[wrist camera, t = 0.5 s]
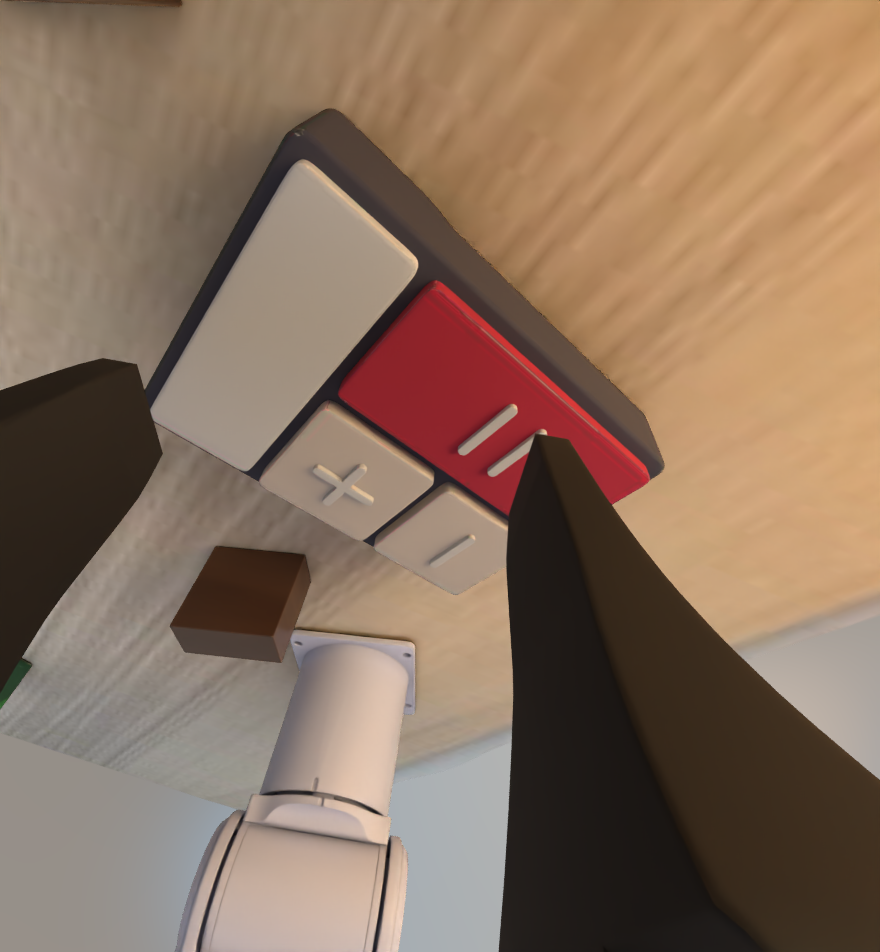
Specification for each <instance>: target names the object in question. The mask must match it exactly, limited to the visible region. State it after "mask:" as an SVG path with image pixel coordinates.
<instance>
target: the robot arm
mask: <svg viewBox="0 0 880 952" xmlns="http://www.w3.org/2000/svg"><path fill="white" fill-rule="evenodd" d="M162 454H163V453H162V449H161V446H160V442H159V439H158V435H157V432H156V428H155V425H154V422H153V418H152V415H151V411H150V408H149V404H148V401H147V397H146V394H145V390H144V387H143V384H142V380H141V377H140V373H139V370H138V366H137V364H133V363H127V362H121V361H115V360H110V359H104V358H102V359H98V360H94V361H89V362H86V363H82V364H78V365H75V366H72V367H68V368H65V369H62V370H59V371H56V372H53V373H50V374H47V375H44V376H41V377H38V378H35V379H32V380H29V381H26V382H23V383H20V384H18V385H15V386H12V387H9V388H6V389H3V390H0V693H1V691H2V690H3V688H4V686H5V684H6V683H7V681H8V679H9V677H10V676H11V674H12V672H13V671H14V669H15V667H16V666H17V664H18V663H19V661H20V659H21V658H22V656H23V655H24V653H25V651H26V650H27V648H28V646H29V645H30V643H31V642H32V640H33V638H34V637H35V635H36V634H37V632H38V630H39V629H40V627H41V626H42V624H43V622H44V621H45V619H46V618H47V617H48V615H49V614H50V612H51V611H52V610H53V608H54V607H55V605H56V604H57V603H58V601H59V600H60V598H61V597H62V596H63V594H64V593H65V592H66V591H67V589H68V588H69V587H70V585H71V584H72V583H73V582H74V580H75V579H76V578H77V577H78V575H79V574H80V573H81V571H82V570H83V569H84V568H85V566H86V565H87V564H88V562H89V561H90V560H91V559H92V557H93V556H94V555H95V554H96V552H97V551H98V550H99V548H100V547H101V546H102V545H103V543H104V542H105V541H106V540H107V538H108V537H109V536H110V535H111V533H112V532H113V531H114V529H115V528H116V527H117V525H118V524H119V523H120V522H121V520H122V519H123V518H124V516H125V515H126V514H127V512H128V511H129V510H130V508H131V507H132V506H133V504H134V503H135V502H136V500H137V499H138V498H139V496H140V494H141V493H142V491H143V489H144V487H145V486H146V484H147V482H148V481H149V479H150V477H151V475H152V473H153V471H154V469H155V468H156V466H157V464H158V462H159V460H160V458H161V456H162ZM506 567H507V585H508V602H509V618H510V633H511V649H512V665H513V721H512V750H511V771H510V792H509V812H508V829H507V844H506V860H505V861H506V862H505V876H504V877H505V878H504V890H503V903H502V916H501V929H500V942H499V952H880V780H879V779H878V778H877V777H875V776H874V775H873V774H872V773H871V772H869V771H868V770H867V769H866V768H864V767H863V766H862V765H861V764H860V763H859V762H858V761H856V760H855V759H854V758H853V757H852V756H850V755H849V754H848V753H847V752H845V751H844V750H843V749H842V748H841V747H840V746H838V745H837V744H836V743H835V742H834V741H833V740H831V739H830V738H829V737H828V736H827V735H826V734H824V733H823V732H822V731H821V730H819V729H818V728H817V727H816V726H815V725H814V724H813V723H812V722H810V721H809V720H808V719H807V718H806V717H805V716H804V715H803V714H801V713H800V712H799V711H798V710H797V709H796V708H795V707H794V706H793V705H791V704H790V703H789V702H788V701H787V700H786V699H785V698H784V697H782V696H781V695H780V694H779V693H778V692H777V691H776V690H775V689H774V688H773V687H772V686H771V685H770V684H768V683H767V681H765V680H764V679H763V678H762V677H761V676H760V675H759V674H758V673H757V672H756V671H755V670H754V669H753V668H752V667H751V666H750V665H749V664H748V663H747V662H746V661H744V660H743V659H742V658H741V657H740V656H739V655H738V654H737V653H736V652H735V651H734V650H733V649H732V648H731V647H730V646H729V645H728V644H727V643H726V642H725V641H724V640H723V639H722V638H721V637H720V636H719V635H718V634H717V633H716V632H715V631H714V630H713V629H712V627H711V626H710V625H709V624H708V623H707V622H706V621H705V620H704V619H703V618H702V617H701V615H700V614H699V613H698V612H697V611H696V610H695V609H694V608H693V607H692V606H691V605H690V604H689V602H688V601H687V600H686V599H685V598H684V597H683V596H682V595H681V594H680V593H679V591H678V590H677V589H676V588H675V587H674V586H673V584H672V583H671V582H670V581H669V580H668V579H667V577H666V576H665V575H664V574H663V573H662V571H661V570H660V569H659V568H658V566H657V565H656V564H655V563H654V561H653V560H652V559H651V557H650V556H649V555H648V554H647V552H646V551H645V550H644V549H643V547H642V546H641V545H640V544H639V542H638V541H637V540H636V538H635V537H634V536H633V534H632V533H631V532H630V530H629V529H628V528H627V526H626V525H625V523H624V522H623V521H622V519H621V518H620V516H619V515H618V513H617V512H616V511H615V509H614V508H613V506H612V505H611V503H610V502H609V501H608V499H607V498H606V496H605V495H604V493H603V492H602V490H601V489H600V487H599V485H598V484H597V482H596V481H595V479H594V478H593V476H592V475H591V473H590V472H589V470H588V468H587V467H586V465H585V464H584V462H583V461H582V459H581V458H580V456H579V454H578V453H577V451H576V450H575V448H574V447H573V445H572V443H571V442H570V440H569V439H565V438H559V437H554V436H548V435H542V434H536V433H535V436H534V439H533V442H532V445H531V448H530V451H529V454H528V457H527V460H526V463H525V466H524V469H523V472H522V475H521V478H520V481H519V484H518V487H517V490H516V493H515V496H514V499H513V502H512V505H511V509H510V512H509V521H508V536H507V553H506ZM290 642H291V645H292V648H293V651H294V655H295V658H296V661H297V665H298V668H299V671H300V672H299V675H298V678H297V681H296V684H295V687H294V690H293V693H292V696H291V699H290V702H289V705H288V708H287V711H286V714H285V717H284V721H283V724H282V727H281V730H280V733H279V736H278V739H277V742H276V745H275V748H274V751H273V754H272V757H271V760H270V763H269V766H268V769H267V772H266V775H265V778H264V781H263V784H262V787H261V791H260V794H259V795H257V794H252V795H251V798H250V801H249V804H248V807H247V810H246V811H244V810H236V811H234V812H233V813H232V814H231V815H230V817H228V818H227V819H226V820H224V821H223V822H222V823H221V824H220V825H219V826H218V828H217V829H216V831H215V832H214V834H213V836H212V838H211V840H210V842H209V844H208V846H207V848H206V850H205V852H204V855H203V857H202V860H201V862H200V864H199V867H198V870H197V872H196V875H195V878H194V881H193V883H192V886H191V889H190V892H189V895H188V899H187V902H186V905H185V909H184V913H183V916H182V920H181V924H180V929H179V934H178V940H177V946H176V950H175V952H398V948H399V942H400V936H401V928H402V922H403V914H404V905H405V896H406V886H407V873H408V855H407V852H406V850H405V848H404V846H403V845H402V843H401V839H400V838H399V837H396V836H390V837H389V831H390V824H391V818H390V817H388V811H389V804H390V798H391V791H392V785H393V778H394V772H395V765H396V759H397V752H398V746H399V739H400V733H401V726H402V719H403V714H405V715H412V714H414V713H415V645H414V644H413V643H411V642H408V641H399V640H390V639H381V638H371V637H362V636H352V635H343V634H333V633H324V632H315V631H305V630H293V633H292V636H291V638H290ZM388 837H389V840H388Z"/></svg>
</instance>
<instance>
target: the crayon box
mask: <svg viewBox="0 0 880 952" xmlns="http://www.w3.org/2000/svg"><path fill="white" fill-rule="evenodd" d="M31 667H32V665H31V664H30V663H28V662H26V661H25V660H23V659H20V661H19V663H18V664H17V666H16V667H15V669H14V671H13V672H12V674H11V676H10V677H9V679H8V681H7V683H6V684H5V686H4V688H3V690H2V691H1V693H0V709H1V708H2V706H3V705H4V703H5V702H6V701H7V700H8V698H9V697H10V695H11V694H12V693H13V691H14V690H15V689H16V687H17V686H18V685H19V683H20V682H21V680H22V679H23V678H24V676H25V675H26V673H27V672H28V671H29V669H30V668H31Z"/></svg>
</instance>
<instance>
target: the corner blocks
mask: <svg viewBox="0 0 880 952" xmlns="http://www.w3.org/2000/svg"><path fill="white" fill-rule="evenodd" d="M8 1H35V2H62V3H89V4H116V5H142V6H169V7H180V6H181V5H182V3H181V0H8ZM310 583H311V581H310V576H309V572H308V567H307V563H306V558H305V555H299V554H289V553H279V552H269V551H259V550H248V549H238V548H228V547H218V546H216V547H215V548H214V550H213V552H212V553H211V555H210V557H209V559H208V560H207V562H206V564H205V565H204V567H203V569H202V571H201V572H200V574H199V576H198V578H197V579H196V581H195V583H194V584H193V586H192V588H191V590H190V591H189V593H188V595H187V597H186V598H185V600H184V602H183V603H182V605H181V607H180V609H179V610H178V612H177V614H176V616H175V617H174V619H173V621H172V622H171V624H170V628H171V629H172V631H173V633H174V634H175V636H176V638H177V640H178V641H179V643H180V645H181V647H182V648H183V650H184V652H186V653H195V654H205V655H214V656H223V657H232V658H241V659H250V660H259V661H268V662H277V663H282V660H283V658H284V655H285V652H286V649H287V647H288V644H289V641H290V638H291V636H292V633H293V630H294V627H295V625H296V622H297V619H298V616H299V614H300V611H301V608H302V605H303V602H304V600H305V597H306V594H307V591H308V589H309V586H310Z"/></svg>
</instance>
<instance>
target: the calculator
mask: <svg viewBox="0 0 880 952" xmlns="http://www.w3.org/2000/svg"><path fill="white" fill-rule="evenodd" d="M145 394H146V397H147V401H148V404H149V408H150V411H151V415H152V418H153V422H155V423H156V424H158V425H160V426H162V427H163V428H165V429H167V430H169V431H171V432H172V433H174V434H176V435H178V436H179V437H181V438H183V439H185V440H186V441H188V442H190V443H192V444H193V445H195V446H197V447H199V448H200V449H202V450H204V451H206V452H207V453H209V454H211V455H213V456H215V457H216V458H218V459H220V460H222V461H223V462H225V463H227V464H229V465H230V466H232V467H234V468H236V469H237V470H239V471H241V472H243V473H244V474H246V475H248V476H250V477H251V478H253V479H255V480H257V481H259V484H260V485H261V486H262V487H263V488H265V489H266V490H268V491H270V492H272V493H273V494H275V495H277V496H279V497H280V498H282V499H284V500H286V501H287V502H289V503H291V504H293V505H295V506H296V507H298V508H300V509H302V510H303V511H305V512H307V513H309V514H310V515H312V516H314V517H316V518H318V519H319V520H321V521H323V522H325V523H326V524H328V525H330V526H332V527H333V528H335V529H337V530H339V531H341V532H342V533H344V534H346V535H348V536H349V537H351V538H353V539H355V540H358V541H364V542H366V543H368V544H369V545H371V546H373V547H374V549H375V551H377V552H378V553H379V554H381V555H383V556H385V557H387V558H388V559H390V560H392V561H394V562H395V563H397V564H399V565H401V566H402V567H404V568H406V569H408V570H410V571H411V572H413V573H415V574H417V575H418V576H420V577H422V578H424V579H425V580H427V581H429V582H431V583H433V584H434V585H436V586H438V587H440V588H441V589H443V590H445V591H447V592H448V593H451V594H453V595H458V594H460V593H463V592H464V591H466V590H468V589H469V588H471V587H473V586H475V585H476V584H478V583H480V582H481V581H483V580H485V579H486V578H488V577H490V576H491V575H493V574H495V573H497V572H498V571H500V570H502V569H503V568H505V567H506V553H507V536H508V521H509V512H510V509H511V505H512V502H513V499H514V496H515V493H516V490H517V487H518V484H519V481H520V478H521V475H522V472H523V469H524V466H525V463H526V460H527V457H528V454H529V451H530V448H531V445H532V442H533V439H534V436H535V433H536V434H542V435H548V436H554V437H559V438H565V439H569V440H570V442H571V443H572V445H573V447H574V448H575V450H576V451H577V453H578V454H579V456H580V458H581V459H582V461H583V462H584V464H585V465H586V467H587V468H588V470H589V472H590V473H591V475H592V476H593V478H594V479H595V481H596V482H597V484H598V485H599V487H600V489H601V490H602V492H603V493H604V495H605V496H606V498H607V499H608V501H609V502H610V503H611V505H612V504H614V503H615V502H617V501H619V500H621V499H622V498H624V497H626V496H627V495H629V494H631V493H632V492H634V491H636V490H638V489H639V488H641V487H643V486H644V485H645V484H647V483H648V482H649V480H651V479H652V478H654V477H656V476H657V475H659V474H660V473H661V472H662V471H663V469H664V461H663V458H662V456H661V453H660V451H659V448H658V446H657V443H656V441H655V438H654V436H653V433H652V431H651V428H650V426H649V424H648V421H647V419H646V417H645V415H644V414H643V413H642V412H641V411H640V410H639V409H638V408H637V407H636V406H635V405H634V404H633V403H632V402H631V401H630V400H629V399H628V398H627V397H626V396H625V395H624V394H623V393H622V392H621V391H619V390H618V389H617V388H616V387H615V386H614V385H613V384H612V383H611V382H610V381H609V380H608V379H607V378H606V377H605V376H604V375H603V374H602V373H601V372H600V371H599V370H598V369H597V368H596V367H595V366H594V365H593V364H592V363H591V362H590V361H589V360H588V359H587V358H586V357H584V356H583V355H582V354H581V353H580V352H579V351H578V350H577V349H576V348H575V347H574V346H573V345H572V344H571V343H570V342H569V341H568V340H567V339H566V338H565V337H564V336H563V335H562V334H561V333H560V332H559V331H558V330H557V329H556V328H555V327H554V326H553V325H552V324H550V323H549V322H548V321H547V320H546V319H545V318H544V317H543V316H542V315H541V314H540V313H539V312H538V311H537V310H536V309H535V308H534V307H533V306H532V305H531V304H530V303H529V302H528V301H527V300H526V299H525V298H524V297H523V296H522V295H521V294H520V293H519V292H518V291H517V290H515V289H514V288H513V287H512V286H511V285H510V284H509V283H508V282H507V281H506V280H505V279H504V278H503V277H502V276H501V275H500V274H499V273H498V272H497V271H496V270H495V269H494V268H493V267H492V266H491V265H490V264H489V263H488V262H487V261H486V260H485V259H484V258H483V257H482V256H480V255H479V254H478V253H477V252H476V251H475V250H474V249H473V248H472V247H471V246H470V245H469V244H468V243H467V242H466V241H465V240H464V239H463V238H462V237H461V236H460V235H459V234H458V233H457V232H456V231H455V230H454V229H453V228H452V227H451V226H450V224H449V223H448V222H447V220H446V219H445V218H444V217H443V215H442V214H441V213H440V212H439V210H438V209H437V208H436V206H435V205H434V204H433V203H432V201H431V200H430V199H429V198H428V197H427V196H426V195H425V194H424V193H423V192H422V191H421V190H420V189H419V188H418V187H417V186H416V185H415V184H414V183H413V182H412V181H411V180H410V179H409V178H408V177H407V176H405V175H404V174H403V173H402V172H401V171H400V170H399V169H398V168H397V167H396V166H395V165H394V164H393V163H392V162H391V161H390V160H389V159H388V158H387V157H386V156H385V155H384V154H383V153H382V152H381V151H380V150H379V149H378V148H377V147H376V146H375V145H374V144H373V143H372V142H371V141H370V140H369V139H368V138H367V137H366V136H365V135H364V134H363V133H362V132H361V131H360V130H359V129H358V128H357V127H355V126H354V125H353V124H352V123H351V122H350V121H349V120H348V119H347V118H346V117H345V116H344V115H343V114H342V113H340V112H339V111H337V110H336V109H325V110H323V111H321V112H320V113H318V114H316V115H315V116H313V117H311V118H310V119H308V120H306V121H305V122H303V123H301V124H300V125H298V126H296V127H295V128H293V129H292V130H291V131H289V132H288V133H287V134H286V135H285V137H284V139H283V140H282V142H281V144H280V145H279V147H278V149H277V151H276V153H275V154H274V156H273V158H272V160H271V162H270V163H269V165H268V167H267V169H266V171H265V173H264V174H263V176H262V178H261V180H260V182H259V183H258V185H257V187H256V189H255V191H254V193H253V194H252V196H251V198H250V200H249V202H248V203H247V205H246V207H245V209H244V211H243V213H242V214H241V216H240V218H239V220H238V222H237V223H236V225H235V227H234V229H233V231H232V232H231V234H230V236H229V238H228V240H227V242H226V243H225V245H224V247H223V249H222V251H221V252H220V254H219V256H218V258H217V260H216V262H215V263H214V265H213V267H212V269H211V271H210V272H209V274H208V276H207V278H206V280H205V282H204V283H203V285H202V287H201V289H200V291H199V292H198V294H197V296H196V298H195V300H194V302H193V303H192V305H191V307H190V309H189V311H188V312H187V314H186V316H185V318H184V320H183V321H182V323H181V325H180V327H179V329H178V331H177V332H176V334H175V336H174V338H173V340H172V341H171V343H170V345H169V347H168V349H167V351H166V352H165V354H164V356H163V358H162V360H161V361H160V363H159V365H158V367H157V369H156V371H155V372H154V374H153V376H152V378H151V380H150V381H149V383H148V385H147V387H146V389H145Z"/></svg>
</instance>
